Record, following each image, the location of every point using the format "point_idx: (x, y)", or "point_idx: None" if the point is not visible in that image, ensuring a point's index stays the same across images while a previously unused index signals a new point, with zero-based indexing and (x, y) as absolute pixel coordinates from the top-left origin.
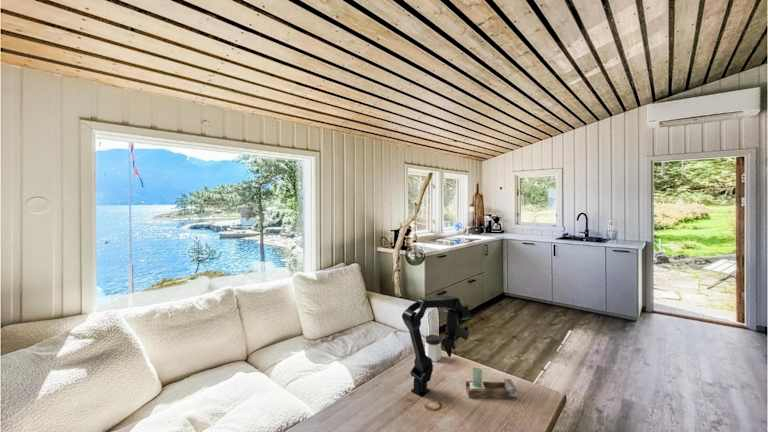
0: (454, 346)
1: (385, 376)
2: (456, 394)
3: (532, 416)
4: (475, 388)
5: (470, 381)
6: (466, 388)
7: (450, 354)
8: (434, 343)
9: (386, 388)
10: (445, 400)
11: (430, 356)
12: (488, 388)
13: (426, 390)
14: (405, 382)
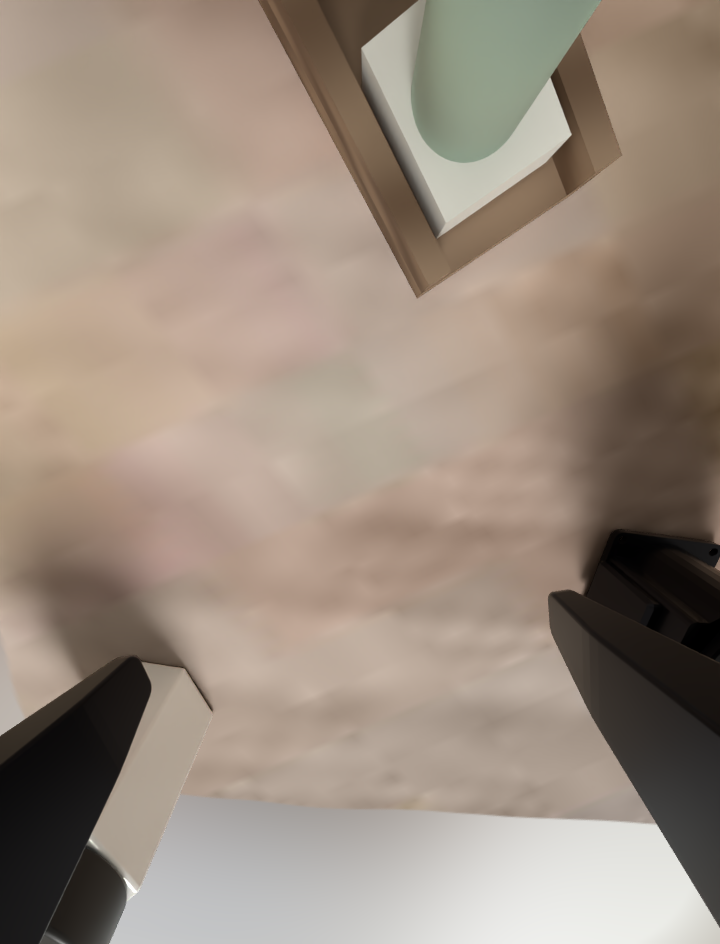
0: (88, 725)
1: (565, 806)
2: (559, 330)
3: None
4: (551, 84)
5: (411, 227)
6: (458, 269)
7: (641, 634)
8: (83, 875)
9: None
10: (690, 372)
11: (189, 736)
12: (343, 9)
13: (650, 549)
14: (575, 699)
